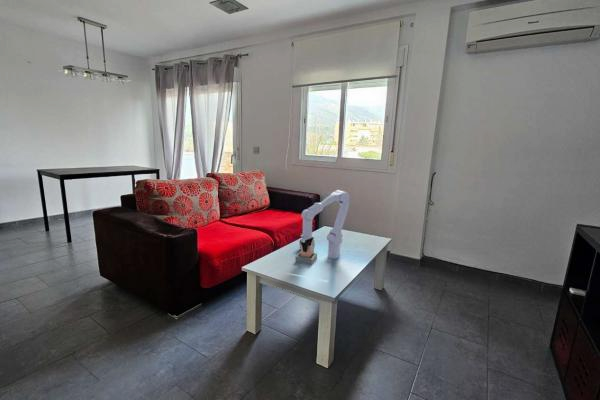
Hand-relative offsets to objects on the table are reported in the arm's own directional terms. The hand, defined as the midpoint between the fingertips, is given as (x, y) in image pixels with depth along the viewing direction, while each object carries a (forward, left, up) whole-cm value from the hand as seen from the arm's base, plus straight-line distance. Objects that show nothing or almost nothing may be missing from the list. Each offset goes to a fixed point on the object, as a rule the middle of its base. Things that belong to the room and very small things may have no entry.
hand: (306, 249), depth 174 cm
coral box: (0, 0, -3) cm, 3 cm away
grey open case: (-19, -6, -8) cm, 21 cm away
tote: (0, 0, -8) cm, 8 cm away
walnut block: (0, 0, -7) cm, 7 cm away
